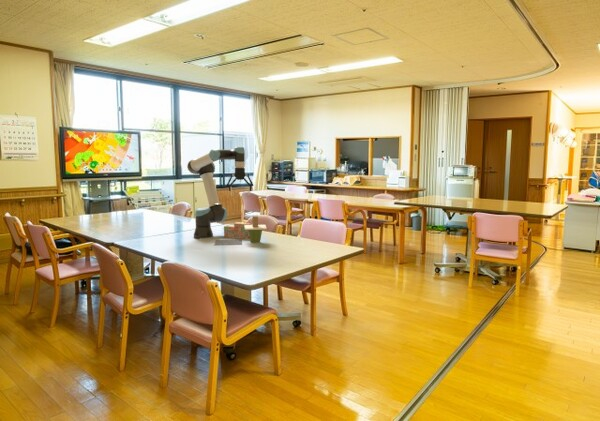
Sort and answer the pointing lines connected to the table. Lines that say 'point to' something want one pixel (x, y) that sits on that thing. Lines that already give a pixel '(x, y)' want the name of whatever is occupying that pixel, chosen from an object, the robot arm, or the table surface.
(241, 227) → the stack of blocks
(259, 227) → the lid
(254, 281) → the table surface
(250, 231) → the plant pot
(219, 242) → the mat
